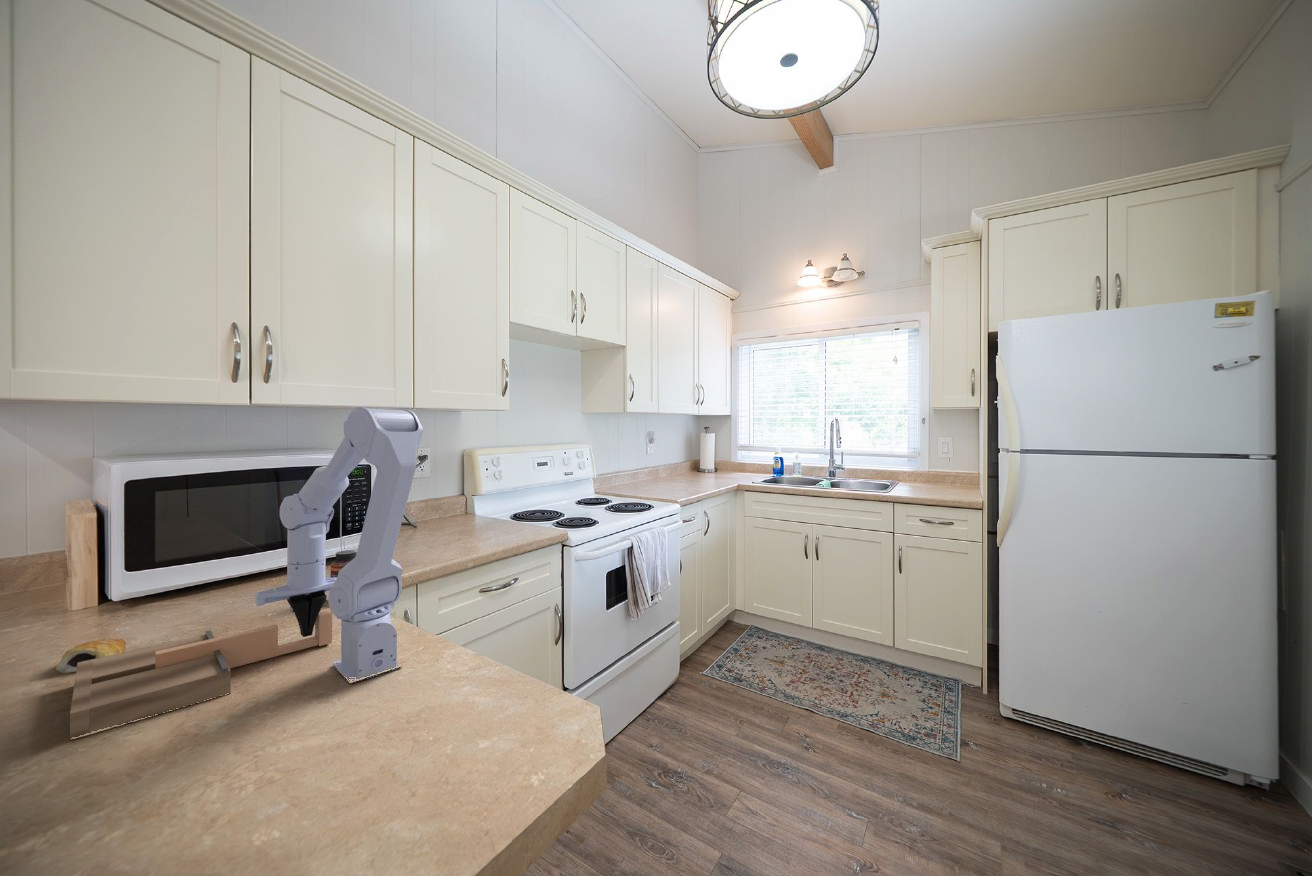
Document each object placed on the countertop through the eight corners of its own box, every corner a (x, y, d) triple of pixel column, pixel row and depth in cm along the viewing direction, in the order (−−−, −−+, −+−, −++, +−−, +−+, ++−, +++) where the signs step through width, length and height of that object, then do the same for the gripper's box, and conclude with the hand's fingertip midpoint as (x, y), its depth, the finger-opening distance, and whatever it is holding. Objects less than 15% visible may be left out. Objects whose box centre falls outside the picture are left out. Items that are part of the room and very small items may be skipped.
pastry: (87, 653, 87) (88, 631, 87) (139, 646, 90) (139, 626, 90) (51, 676, 79) (52, 653, 79) (109, 669, 82) (109, 646, 82)
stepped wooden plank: (331, 642, 91) (332, 612, 91) (156, 689, 74) (156, 652, 74) (327, 637, 93) (327, 608, 93) (154, 682, 76) (155, 646, 76)
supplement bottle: (349, 603, 113) (349, 555, 113) (323, 603, 113) (324, 554, 113) (365, 595, 119) (365, 549, 119) (341, 594, 119) (341, 548, 119)
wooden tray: (230, 693, 74) (230, 666, 74) (69, 740, 62) (69, 709, 62) (212, 652, 88) (212, 629, 88) (77, 684, 76) (77, 658, 76)
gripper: (345, 550, 98) (344, 617, 98) (251, 564, 87) (251, 640, 87) (356, 556, 93) (356, 627, 93) (260, 571, 82) (259, 652, 82)
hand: (306, 634), depth 90 cm, fingers closed
